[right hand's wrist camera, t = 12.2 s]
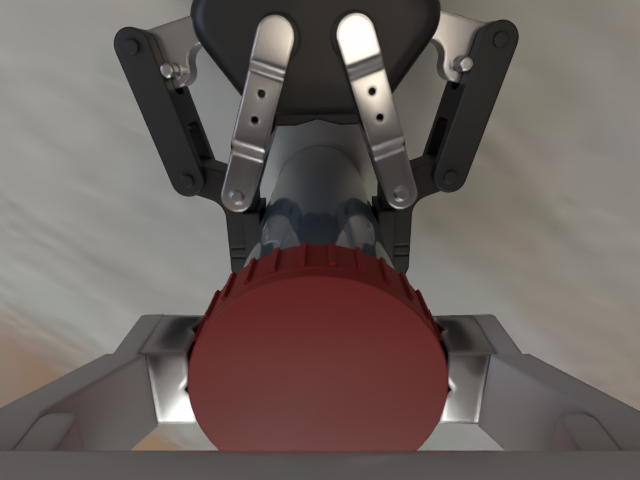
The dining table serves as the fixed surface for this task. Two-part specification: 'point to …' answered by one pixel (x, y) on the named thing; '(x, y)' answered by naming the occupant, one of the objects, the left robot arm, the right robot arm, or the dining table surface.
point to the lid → (317, 356)
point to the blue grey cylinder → (319, 207)
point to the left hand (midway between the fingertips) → (321, 283)
